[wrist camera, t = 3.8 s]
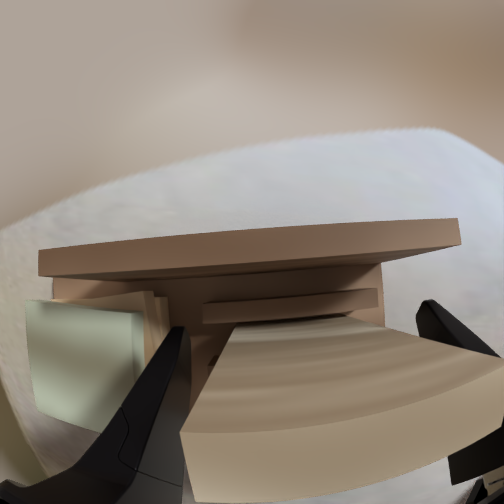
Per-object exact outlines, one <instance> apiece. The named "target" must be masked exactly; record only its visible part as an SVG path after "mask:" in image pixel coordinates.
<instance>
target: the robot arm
mask: <svg viewBox="0 0 504 504" xmlns="http://www.w3.org/2000/svg"><path fill="white" fill-rule="evenodd" d="M416 323H417V328H418V332H419V336H420V337H422V338H425V339H429V340H432V341H436V342H440V343H444V344H447V345H451V346H455V347H459V348H463V349H466V350H470V351H474V352H478V353H482V354H486V355H490V356H494V357H498V358H501V357H500V356H499V355H498V354H497V353H495V351H493V350H492V349H491V348H490V347H489V346H488V345H487V344H486V343H485V342H483V341H482V340H481V339H480V338H479V337H478V336H477V335H475V334H474V333H473V332H472V331H471V330H470V329H468V328H467V327H466V326H465V325H464V324H463V323H461V322H460V321H459V320H458V319H457V318H455V317H454V316H453V315H452V314H451V313H449V312H448V311H447V310H446V309H444V308H443V307H442V306H441V305H440V304H438V303H437V302H436V301H435V300H432V299H430V300H425V301H423V302H422V304H421V306H420V308H419V310H418V312H417V314H416ZM191 385H192V372H191V339H190V337H189V334H188V331H187V329H186V327H185V326H173V327H172V328H171V330H170V331H169V333H168V334H167V336H166V337H165V339H164V340H163V341H162V343H161V344H160V346H159V347H158V349H157V350H156V352H155V353H154V355H153V356H152V358H151V359H150V361H149V362H148V364H147V366H146V367H145V369H144V370H143V372H142V373H141V375H140V376H139V378H138V379H137V381H136V382H135V384H134V385H133V387H132V388H131V390H130V391H129V393H128V395H127V396H126V398H125V399H124V401H123V402H122V404H121V406H120V407H119V408H118V410H117V411H116V413H115V415H114V416H113V417H112V419H111V420H110V422H109V423H108V425H107V426H106V428H105V429H104V430H103V431H102V433H101V434H100V435H99V437H98V438H97V439H96V440H95V441H94V443H93V444H92V445H91V446H90V448H89V449H88V450H87V451H86V452H85V454H84V455H83V456H82V457H81V458H80V460H79V461H78V462H77V463H76V464H74V465H73V466H72V467H70V468H69V469H67V470H65V471H63V472H61V473H59V474H57V475H54V476H52V477H50V478H48V479H46V480H43V481H41V482H39V483H36V484H34V485H32V486H25V485H23V484H20V483H18V482H15V481H12V480H8V479H6V480H4V481H3V482H1V483H0V504H182V490H183V487H182V486H183V474H184V460H185V456H184V452H183V447H182V442H181V437H180V430H181V428H182V427H183V425H184V423H185V421H186V419H187V417H188V415H189V405H190V396H191ZM448 462H449V469H450V477H451V484H452V486H453V485H456V484H459V483H462V482H465V481H468V480H470V479H473V478H476V477H478V476H481V475H482V476H483V477H481V478H480V479H478V480H477V481H476V483H475V485H474V487H473V489H472V491H471V494H470V496H469V498H468V500H467V501H466V504H504V416H503V421H502V424H501V427H499V428H498V429H496V430H495V431H493V432H491V433H490V434H488V435H486V436H485V437H483V438H481V439H479V440H478V441H476V442H474V443H472V444H470V445H469V446H467V447H465V448H463V449H461V450H459V451H457V452H455V453H453V454H451V455H449V456H448Z"/></svg>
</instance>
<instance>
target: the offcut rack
mask: <svg viewBox="0 0 504 504" xmlns="http://www.w3.org/2000/svg"><path fill="white" fill-rule="evenodd" d="M457 245H461V237H460V230H459V224H458V218H448V219H419V220H395V221H374V222H355V223H337V224H320V225H304V226H289V227H275V228H261V229H248V230H235V231H222V232H210V233H198V234H187V235H176V236H165V237H154V238H144V239H134V240H124V241H115V242H105V243H96V244H87V245H78V246H69V247H61V248H52V249H44V250H39V255H38V276H43V277H53V290H54V299H94V298H101V297H107V296H114V295H120V294H127V293H133V292H139V291H153V293H154V297H168V309H169V321H170V330H171V328H172V327H173V326H185V327H186V329H187V331H188V334H189V337H190V339H191V372H192V385H191V396H190V405H189V414H190V412H191V410H192V408H193V406H194V404H195V402H196V401H197V399H198V397H199V395H200V393H201V391H202V389H203V387H204V386H205V384H206V382H207V380H208V378H209V376H210V374H211V372H212V370H213V369H214V367H215V365H216V363H217V361H218V359H219V357H220V355H221V353H222V351H223V349H224V347H225V346H226V344H227V342H228V340H229V338H230V336H231V334H232V332H233V330H234V328H235V326H236V324H237V323H245V322H259V321H271V320H283V319H293V318H303V317H313V316H322V315H330V314H338V313H340V314H343V315H346V316H349V317H353V318H356V319H359V320H363V321H366V322H369V323H373V324H376V325H380V326H383V327H385V315H384V297H383V283H382V271H381V263H382V262H387V261H391V260H396V259H401V258H405V257H410V256H414V255H419V254H423V253H427V252H432V251H436V250H440V249H445V248H449V247H453V246H457ZM188 416H189V415H188Z"/></svg>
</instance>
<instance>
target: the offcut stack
mask: <svg viewBox="0 0 504 504" xmlns="http://www.w3.org/2000/svg"><path fill="white" fill-rule="evenodd" d="M25 313H26V333H27V346H28V356H29V364H30V371H31V378H32V384H33V390H34V396H35V401H36V406H37V410H38V411H39V412H41V413H44V414H46V415H49V416H51V417H54V418H56V419H59V420H62V421H64V422H67V423H70V424H73V425H76V426H79V427H82V428H85V429H88V430H92V431H95V432H99V433H102V431H103V430H104V429H105V428H106V426H107V425H108V423H109V422H110V420H111V419H112V417H113V416H114V415H115V413H116V411H117V410H118V408H119V407H120V406H121V404H122V402H123V401H124V399H125V398H126V396H127V395H128V393H129V391H130V390H131V388H132V387H133V385H134V384H135V382H136V381H137V379H138V378H139V376H140V375H141V373H142V372H143V370H144V369H145V367H146V366H147V364H148V362H149V361H150V359H151V358H152V356H153V355H154V353H155V352H156V350H157V349H158V347H159V346H160V344H161V343H162V341H163V340H164V339H165V337H166V336H167V334H168V333H169V331H170V321H169V309H168V297H154V293H153V291H139V292H133V293H127V294H120V295H114V296H107V297H101V298H94V299H51V301H46V300H25Z"/></svg>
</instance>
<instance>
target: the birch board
mask: <svg viewBox="0 0 504 504" xmlns="http://www.w3.org/2000/svg"><path fill="white" fill-rule="evenodd" d="M503 416H504V359H503V358H498V357H494V356H490V355H486V354H482V353H478V352H474V351H470V350H466V349H463V348H459V347H455V346H451V345H447V344H444V343H440V342H436V341H432V340H429V339H425V338H422V337H418V336H414V335H411V334H407V333H404V332H400V331H397V330H393V329H390V328H386V327H383V326H380V325H376V324H373V323H369V322H366V321H363V320H359V319H356V318H353V317H349V316H346V315H343V314H340V313H338V314H330V315H322V316H313V317H303V318H293V319H283V320H271V321H259V322H245V323H237V324H236V326H235V328H234V330H233V332H232V334H231V336H230V338H229V340H228V342H227V344H226V346H225V347H224V349H223V351H222V353H221V355H220V357H219V359H218V361H217V363H216V365H215V367H214V369H213V370H212V372H211V374H210V376H209V378H208V380H207V382H206V384H205V386H204V387H203V389H202V391H201V393H200V395H199V397H198V399H197V401H196V402H195V404H194V406H193V408H192V410H191V412H190V414H189V416H188V417H187V419H186V421H185V423H184V425H183V427H182V428H181V430H180V437H181V442H182V447H183V452H184V456H185V461H186V465H187V470H188V474H189V478H190V482H191V486H192V490H193V494H194V498H195V501H196V502H206V503H261V502H276V501H286V500H295V499H303V498H310V497H316V496H322V495H328V494H333V493H338V492H343V491H347V490H351V489H356V488H360V487H363V486H367V485H371V484H374V483H378V482H381V481H384V480H388V479H391V478H394V477H397V476H400V475H403V474H405V473H408V472H411V471H413V470H416V469H419V468H421V467H424V466H426V465H428V464H431V463H433V462H436V461H438V460H440V459H442V458H444V457H447V456H449V455H451V454H453V453H455V452H457V451H459V450H461V449H463V448H465V447H467V446H469V445H470V444H472V443H474V442H476V441H478V440H479V439H481V438H483V437H485V436H486V435H488V434H490V433H491V432H493V431H495V430H496V429H498V428H499V427H501V424H502V421H503Z"/></svg>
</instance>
